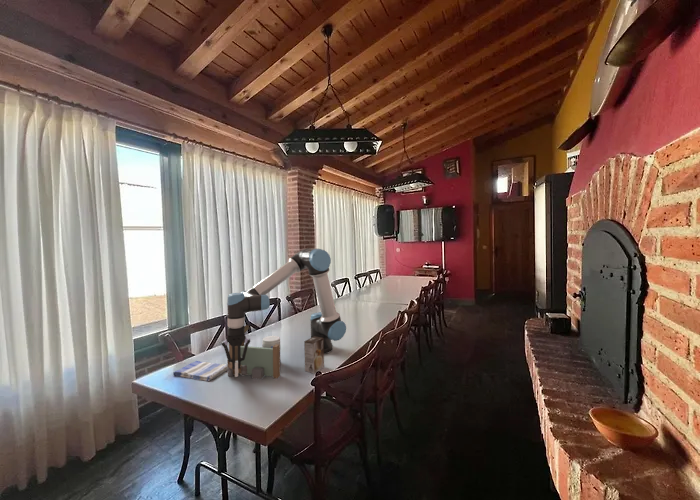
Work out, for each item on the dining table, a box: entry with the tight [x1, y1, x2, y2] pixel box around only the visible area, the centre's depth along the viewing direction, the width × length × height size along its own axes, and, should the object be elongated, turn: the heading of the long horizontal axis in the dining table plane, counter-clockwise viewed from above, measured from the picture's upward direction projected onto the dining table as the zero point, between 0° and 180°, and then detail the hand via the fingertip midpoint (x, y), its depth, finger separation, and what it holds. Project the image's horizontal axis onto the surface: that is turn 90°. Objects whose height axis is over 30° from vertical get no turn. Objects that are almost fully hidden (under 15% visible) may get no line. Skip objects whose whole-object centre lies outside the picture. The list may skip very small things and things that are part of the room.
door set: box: [227, 343, 281, 380], centre depth 153 cm, size 26×6×16 cm, turn 79°
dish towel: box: [173, 360, 228, 382], centre depth 159 cm, size 17×24×3 cm
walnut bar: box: [227, 359, 248, 377], centre depth 149 cm, size 16×3×4 cm, turn 49°
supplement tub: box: [261, 335, 281, 348], centre depth 166 cm, size 10×10×15 cm
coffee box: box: [303, 336, 325, 374], centre depth 160 cm, size 9×6×16 cm
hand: (236, 375), depth 144 cm, fingers closed
